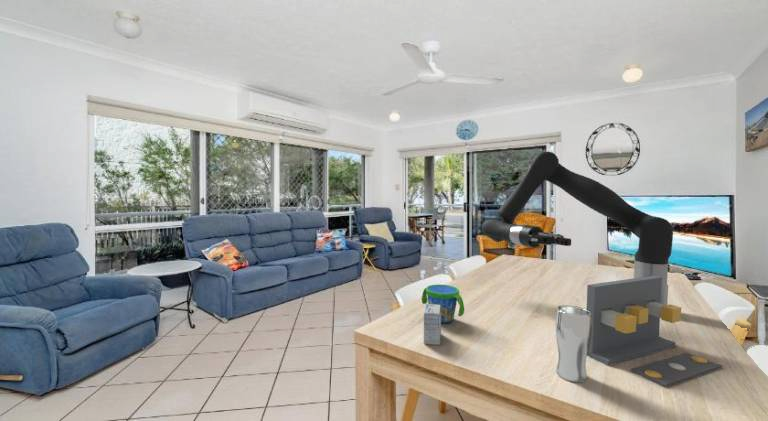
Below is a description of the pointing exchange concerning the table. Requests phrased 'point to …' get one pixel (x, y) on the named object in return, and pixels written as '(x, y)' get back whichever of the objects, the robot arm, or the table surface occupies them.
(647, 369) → the pattern card
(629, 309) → the middle button
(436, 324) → the medicine box
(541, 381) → the table surface
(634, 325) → the button
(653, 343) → the button panel
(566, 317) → the silver metal cup
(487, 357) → the table surface
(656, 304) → the button
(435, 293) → the snack cup
